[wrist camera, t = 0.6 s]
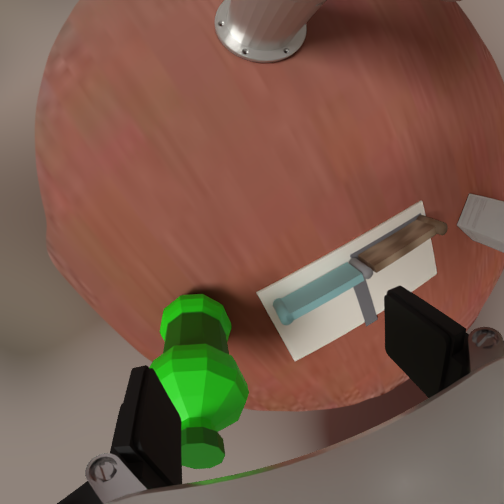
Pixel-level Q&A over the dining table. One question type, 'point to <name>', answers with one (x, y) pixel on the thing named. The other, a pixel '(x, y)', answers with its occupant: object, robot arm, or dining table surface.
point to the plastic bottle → (200, 376)
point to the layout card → (355, 299)
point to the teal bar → (321, 290)
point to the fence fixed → (401, 242)
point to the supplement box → (483, 221)
